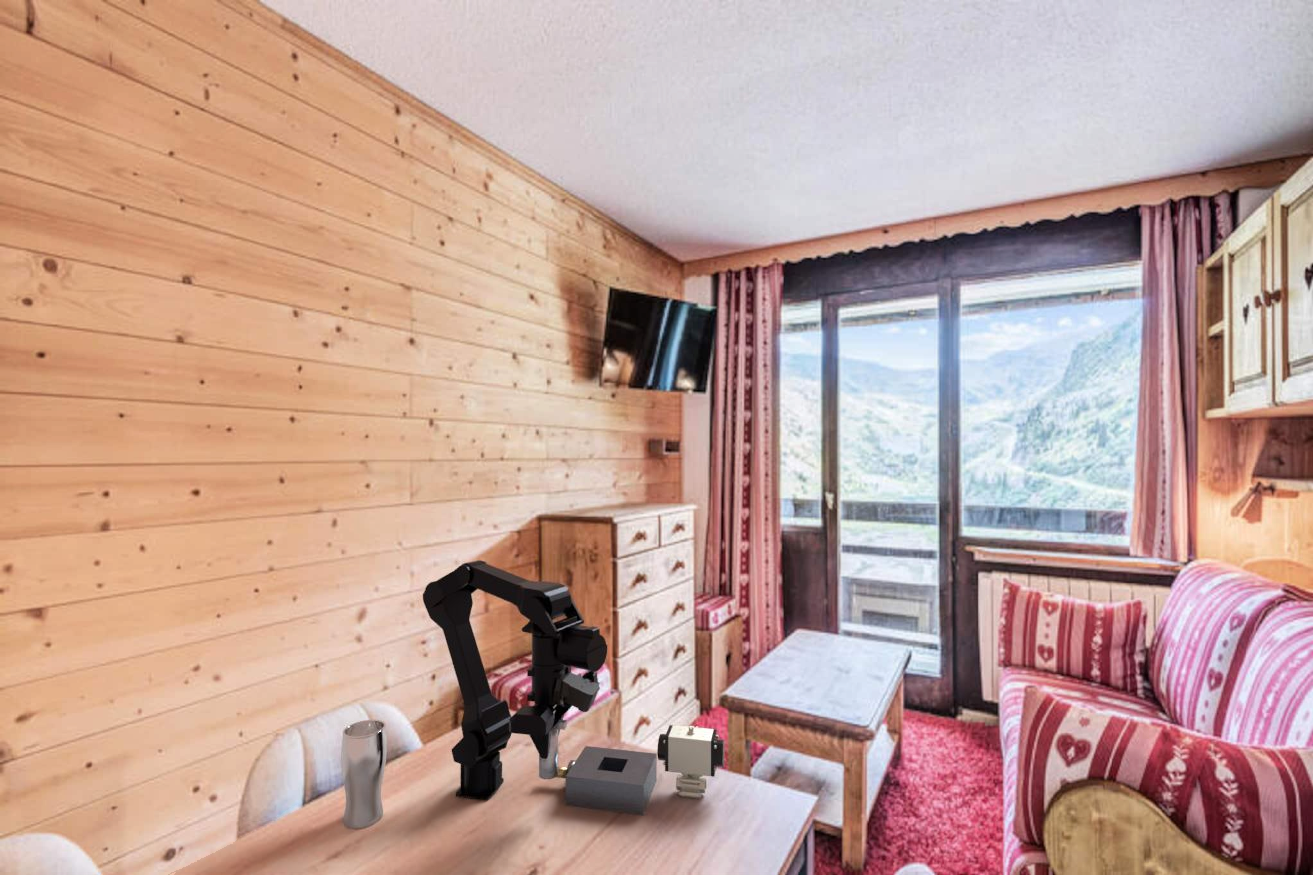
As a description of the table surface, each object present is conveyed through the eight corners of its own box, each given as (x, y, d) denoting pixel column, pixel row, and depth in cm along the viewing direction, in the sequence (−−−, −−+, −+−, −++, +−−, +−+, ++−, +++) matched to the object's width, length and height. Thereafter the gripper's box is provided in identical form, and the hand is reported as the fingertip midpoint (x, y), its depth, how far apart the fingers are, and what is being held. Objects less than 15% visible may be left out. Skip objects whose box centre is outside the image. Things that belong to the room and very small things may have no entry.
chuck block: (533, 800, 106) (533, 772, 107) (555, 768, 117) (556, 742, 117) (643, 815, 102) (643, 785, 103) (656, 780, 113) (656, 753, 113)
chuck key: (528, 777, 101) (528, 722, 102) (535, 767, 104) (536, 714, 105) (562, 781, 100) (562, 725, 100) (568, 771, 103) (568, 717, 103)
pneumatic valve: (722, 804, 106) (722, 735, 106) (656, 796, 108) (657, 729, 108) (725, 787, 111) (725, 721, 111) (662, 780, 113) (663, 716, 114)
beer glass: (330, 825, 99) (331, 733, 100) (363, 802, 106) (365, 716, 106) (362, 834, 97) (364, 740, 97) (395, 810, 103) (396, 722, 104)
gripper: (575, 684, 92) (575, 788, 92) (609, 646, 110) (609, 732, 110) (507, 679, 94) (507, 780, 94) (552, 642, 113) (551, 726, 112)
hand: (548, 753), depth 102 cm, fingers closed on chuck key, 3 cm apart
